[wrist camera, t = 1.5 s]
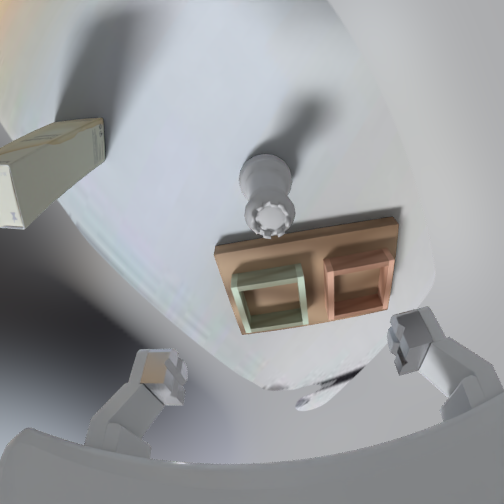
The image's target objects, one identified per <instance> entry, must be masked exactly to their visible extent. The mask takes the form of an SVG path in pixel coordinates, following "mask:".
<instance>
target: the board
mask: <svg viewBox="0 0 504 504" xmlns="http://www.w3.org/2000/svg"><path fill="white" fill-rule="evenodd" d="M398 227H399V224H398V222H397V221H396V220H395V219H394V218H393V217H387V218H381V219H374V220H368V221H362V222H355V223H349V224H343V225H337V226H331V227H324V228H318V229H312V230H306V231H300V232H294V233H288V234H284V235H282V236H280V237H278V235H276V236H271V239H267V238H259V239H253V240H247V241H241V242H236V243H230V244H224V245H218V246H215V251H214V257H215V260H216V263H217V266H218V269H219V272H220V275H221V277H222V280H223V283H224V286H225V289H226V292H227V295H228V297H229V300H230V303H231V306H232V309H233V311H234V314H235V317H236V320H237V323H238V325H239V328H240V331H241V333H242V335H245V334H253V333H261V332H268V331H275V330H282V329H288V328H295V327H301V326H307V325H313V324H319V323H324V322H330V321H335V320H340V319H345V318H350V317H355V316H360V315H365V314H370V313H374V312H379V311H383V310H387V309H388V304H389V298H390V292H391V286H392V279H393V272H394V265H395V257H396V248H397V238H398Z"/></svg>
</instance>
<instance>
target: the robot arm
mask: <svg viewBox="0 0 504 504" xmlns="http://www.w3.org/2000/svg"><path fill="white" fill-rule="evenodd" d="M390 323H391V325H392V326H391V327H390V328H389V329H388V334H387V339H388V345H389V349H390V352H391V353H392V354H394V355H395V356H396V358H395V361H394V363H395V366H396V368H397V371H398V374H399V375H404V374H407V373H411V372H414V371H418V370H419V372H420V373H421V374H422V375H423V376H424V377H425V378H427V379H428V380H429V381H430V382H431V383H432V384H433V385H434V386H436V387H437V388H438V389H439V390H440V391H441V392H442V393H443V394H444V395H446V396H447V397H448V400H447V401H446V402H445V403H444V405H443V406H442V407H441V409H440V412H441V415H442V418H443V422H442V423H440V424H437V425H435V426H432V427H429V428H427V429H424V430H421V431H419V432H416V433H413V434H410V435H407V436H404V437H401V438H398V439H394V440H391V441H388V442H384V443H381V444H377V445H374V446H369V447H365V448H361V449H357V450H353V451H348V452H344V453H338V454H333V455H327V456H321V457H315V458H309V459H301V460H293V461H282V462H272V463H253V464H204V463H186V462H175V461H165V460H157V459H150V454H151V446H150V445H149V444H148V443H146V442H144V441H143V440H142V439H141V438H142V437H143V436H144V434H145V433H146V432H147V430H148V429H149V427H150V426H151V425H152V423H153V422H154V421H155V419H156V418H157V416H158V415H159V414H160V412H161V411H162V410H163V408H164V405H183V404H184V397H185V390H184V388H183V385H184V384H185V383H186V382H187V377H188V376H187V375H188V374H187V367H186V364H185V362H184V361H183V360H182V359H180V358H179V357H178V354H179V353H178V352H177V350H176V349H142V350H141V349H140V350H139V351H138V352H137V355H136V358H135V362H134V365H133V369H132V372H131V375H130V379H129V383H125V384H124V385H123V386H122V387H121V388H120V389H119V390H118V391H117V392H116V393H115V394H114V395H113V397H112V398H110V400H109V401H108V402H107V403H106V404H105V405H104V406H103V407H102V408H101V409H100V410H99V411H98V412H97V413H96V414H95V415H94V416H93V417H92V418H91V421H90V424H89V428H88V432H87V436H86V440H85V443H84V445H82V444H78V443H75V442H71V441H68V440H64V439H62V438H58V437H56V436H53V435H50V434H47V433H44V432H41V431H38V430H36V429H34V428H25V429H24V430H22V431H21V432H20V433H19V434H18V435H16V437H14V438H13V439H12V440H11V441H10V442H9V443H8V444H7V446H6V448H5V450H4V452H3V454H2V457H1V460H0V504H504V389H503V387H502V385H501V382H500V380H499V378H498V376H497V374H496V372H495V370H494V367H493V365H492V364H491V363H489V362H487V361H486V360H484V359H483V358H481V357H480V356H478V355H477V354H475V353H474V352H472V351H470V350H469V349H468V348H466V347H464V346H463V345H461V344H459V343H458V342H457V341H455V340H453V339H452V338H450V337H448V338H446V336H445V335H444V333H443V331H442V329H441V327H440V325H439V323H438V321H437V320H436V318H435V316H434V314H433V312H432V311H431V309H430V308H429V307H428V306H426V307H422V308H419V309H414V310H410V311H407V312H403V313H399V314H395V315H393V316H392V317H391V320H390Z"/></svg>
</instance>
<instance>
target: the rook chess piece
mask: <svg viewBox="0 0 504 504" xmlns="http://www.w3.org/2000/svg"><path fill="white" fill-rule="evenodd" d="M239 184H240V188H241V191H242V194H243V195H244V196H245V197H246V198H247V200H248V201H249V202H248V204H247V205H246V208H245V214H244V216H245V219H246V223H247V225H248V226H249V227H250V228H251V229H252V230H253V231H254V232H255V233H256V234H260V235H263V238H267V239H271V236H273V235H278V237H280V236H282V235H284V234H285V231H286V230H287V229H288V228H290V226H291V224H292V223H293V221H294V217H295V208H294V204H293V203H292V202H291V200H290V199H289V197H288V196H287V195H288V194H289V193H290V190H291V185H292V177H291V172H290V168H289V167H288V166H287V164H286V163H285V161H284V160H282V159H280V158H279V157H277V156H275V155H269V154H261V155H257V156H254V157H252V158H251V159H249V160H248V161H246V162H245V164H244V165H243V167H242V168H241V170H240V175H239Z"/></svg>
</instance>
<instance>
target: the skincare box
mask: <svg viewBox="0 0 504 504" xmlns="http://www.w3.org/2000/svg"><path fill="white" fill-rule="evenodd" d="M104 161H105V144H104V125H103V118H88V119H76V120H68V121H60V122H54V123H51V124H49V125H47V126H44V127H42V128H40V129H37V130H35V131H33V132H31V133H29V134H27V135H25V136H22V137H20V138H18V139H16V140H15V141H13V142H11V143H9V144H7V145H5V146H3V147H1V148H0V228H13V229H25V228H27V227H28V226H29V225H30V224H31V223H32V222H33V221H34V220H35V219H36V218H37V217H38V216H39V215H40V214H41V213H42V212H43V211H44V210H45V209H46V208H48V207H49V206H50V205H51V204H52V203H53V202H54V201H55V200H57V199H58V198H59V197H60V196H61V195H62V194H64V193H65V192H66V191H67V190H68V189H70V188H71V187H72V186H73V185H74V184H76V183H77V182H78V181H79V180H81V179H82V178H83V177H84V176H86V175H87V174H88V173H90V172H91V171H92V170H94V169H95V168H96V167H98V166H99V165H100V164H102V163H103V162H104Z"/></svg>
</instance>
